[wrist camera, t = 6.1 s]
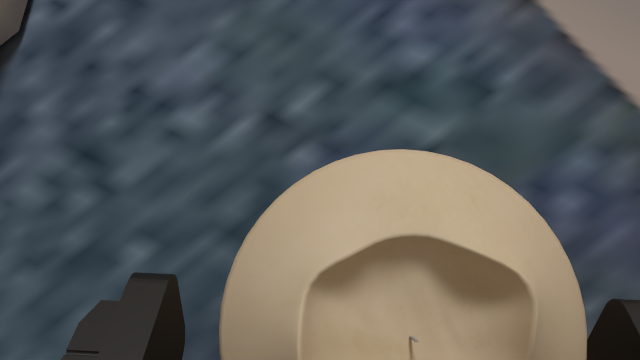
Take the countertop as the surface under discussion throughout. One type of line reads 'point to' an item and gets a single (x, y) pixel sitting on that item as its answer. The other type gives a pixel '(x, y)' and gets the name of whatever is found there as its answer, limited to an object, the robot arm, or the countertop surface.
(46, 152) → the countertop surface
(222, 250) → the countertop surface
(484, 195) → the candle
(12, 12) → the flask
